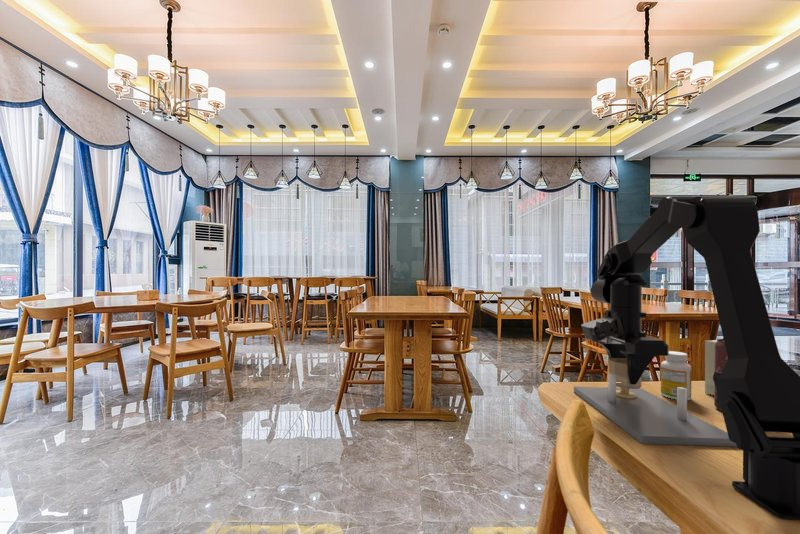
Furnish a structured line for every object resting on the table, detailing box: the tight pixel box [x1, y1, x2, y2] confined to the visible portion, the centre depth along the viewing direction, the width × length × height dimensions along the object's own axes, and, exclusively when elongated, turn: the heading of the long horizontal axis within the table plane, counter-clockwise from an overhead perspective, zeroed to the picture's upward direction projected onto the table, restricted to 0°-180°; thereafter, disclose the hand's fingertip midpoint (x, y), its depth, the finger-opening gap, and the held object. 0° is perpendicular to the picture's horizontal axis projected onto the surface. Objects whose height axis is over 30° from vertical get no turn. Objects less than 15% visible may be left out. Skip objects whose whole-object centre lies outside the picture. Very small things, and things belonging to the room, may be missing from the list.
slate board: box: [573, 373, 737, 448], centre depth 71 cm, size 25×15×7 cm, turn 178°
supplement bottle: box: [660, 350, 692, 402], centre depth 81 cm, size 5×5×10 cm
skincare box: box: [704, 339, 717, 396], centre depth 83 cm, size 6×4×12 cm
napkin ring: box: [608, 358, 642, 389], centre depth 78 cm, size 6×6×5 cm
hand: (624, 380), depth 78 cm, fingers closed on napkin ring, 5 cm apart
